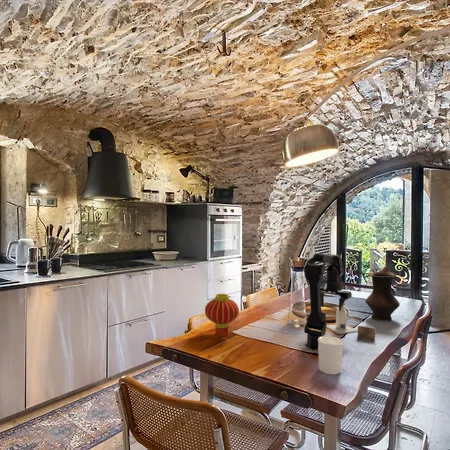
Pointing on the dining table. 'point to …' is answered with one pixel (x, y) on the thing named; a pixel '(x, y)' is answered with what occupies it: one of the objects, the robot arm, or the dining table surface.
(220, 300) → the lantern
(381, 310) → the jug
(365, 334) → the brown wooden box
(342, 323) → the bottle
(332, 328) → the board
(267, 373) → the dining table surface
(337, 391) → the dining table surface
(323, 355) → the white cylinder
